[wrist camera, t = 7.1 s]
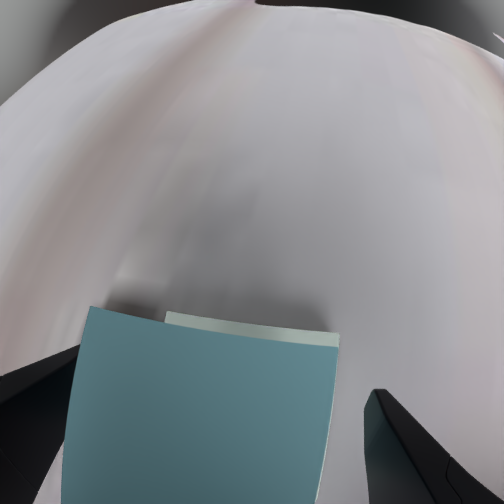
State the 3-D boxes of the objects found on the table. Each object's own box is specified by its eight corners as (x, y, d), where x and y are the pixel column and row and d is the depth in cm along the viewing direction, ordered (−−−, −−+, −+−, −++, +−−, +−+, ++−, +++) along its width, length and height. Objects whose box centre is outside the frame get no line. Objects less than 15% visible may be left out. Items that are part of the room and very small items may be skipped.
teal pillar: (274, 455, 14) (294, 575, 3) (191, 441, 14) (61, 511, 3) (286, 377, 16) (337, 347, 5) (204, 365, 16) (90, 306, 5)
